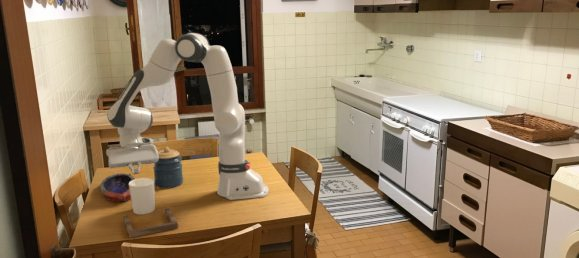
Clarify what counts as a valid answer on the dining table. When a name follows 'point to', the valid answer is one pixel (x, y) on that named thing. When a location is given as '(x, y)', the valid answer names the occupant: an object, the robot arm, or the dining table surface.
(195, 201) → the dining table surface
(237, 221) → the dining table surface
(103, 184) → the dish
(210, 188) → the dining table surface
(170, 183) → the canister
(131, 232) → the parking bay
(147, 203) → the candle holder
